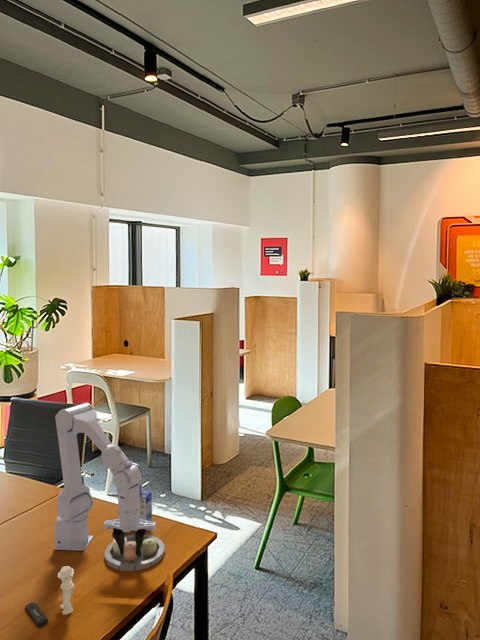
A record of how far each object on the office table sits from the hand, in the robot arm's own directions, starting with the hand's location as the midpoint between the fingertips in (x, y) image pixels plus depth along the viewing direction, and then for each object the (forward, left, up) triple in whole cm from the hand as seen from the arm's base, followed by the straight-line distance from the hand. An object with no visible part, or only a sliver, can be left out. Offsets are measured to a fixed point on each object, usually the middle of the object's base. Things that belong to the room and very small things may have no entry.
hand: (130, 553), depth 151 cm
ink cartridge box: (-4, +20, -4) cm, 21 cm away
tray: (0, +4, -4) cm, 6 cm away
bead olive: (+5, +4, -3) cm, 7 cm away
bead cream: (-4, +5, -3) cm, 7 cm away
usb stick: (-18, -22, -4) cm, 29 cm away
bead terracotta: (0, 0, -2) cm, 2 cm away
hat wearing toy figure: (-11, -20, -4) cm, 23 cm away
